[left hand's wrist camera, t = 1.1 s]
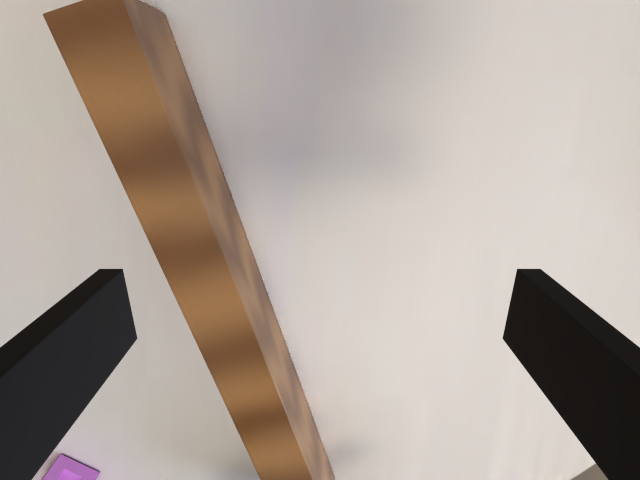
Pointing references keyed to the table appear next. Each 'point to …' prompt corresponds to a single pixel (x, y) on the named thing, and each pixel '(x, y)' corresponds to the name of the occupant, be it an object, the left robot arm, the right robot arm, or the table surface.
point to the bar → (190, 222)
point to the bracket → (70, 470)
